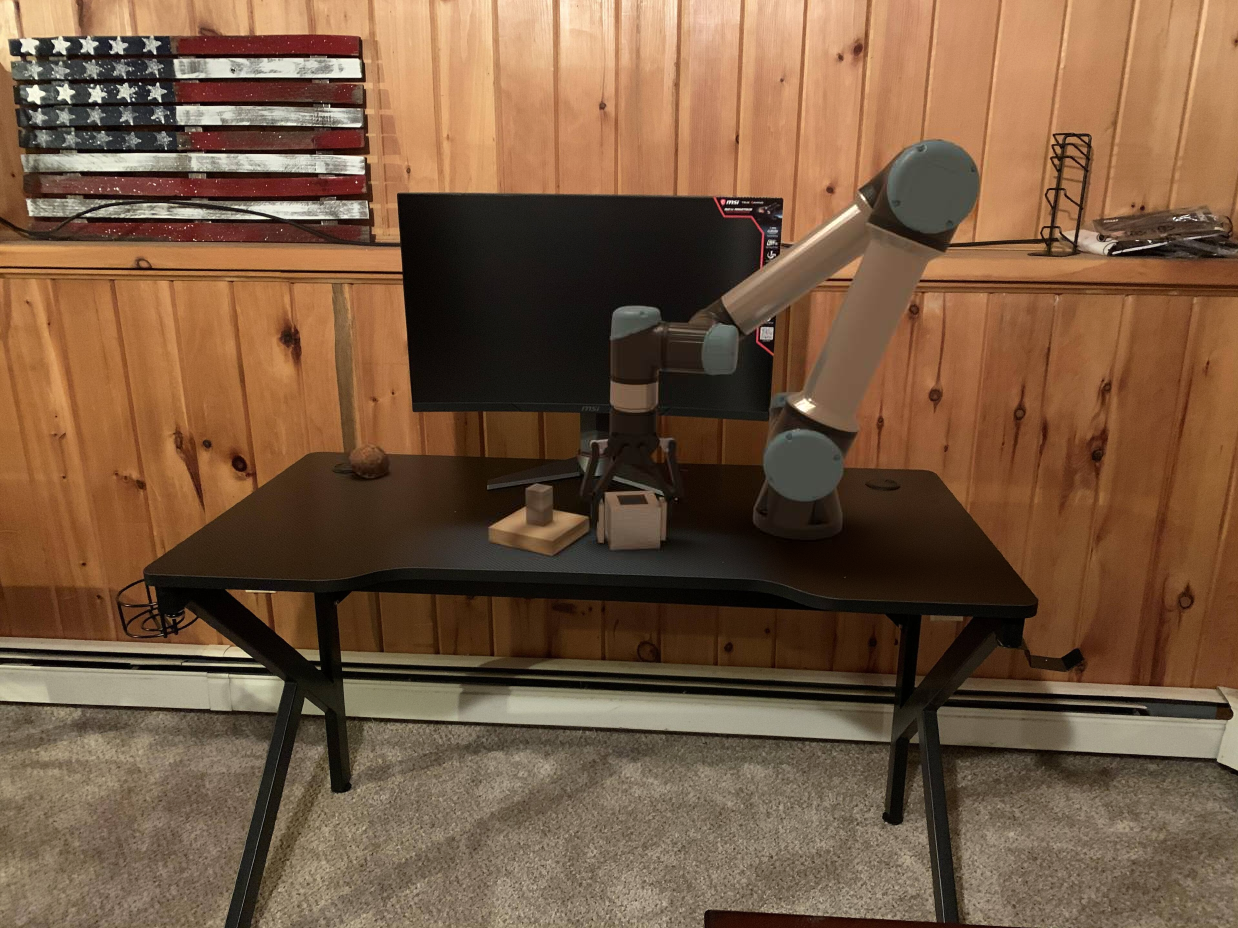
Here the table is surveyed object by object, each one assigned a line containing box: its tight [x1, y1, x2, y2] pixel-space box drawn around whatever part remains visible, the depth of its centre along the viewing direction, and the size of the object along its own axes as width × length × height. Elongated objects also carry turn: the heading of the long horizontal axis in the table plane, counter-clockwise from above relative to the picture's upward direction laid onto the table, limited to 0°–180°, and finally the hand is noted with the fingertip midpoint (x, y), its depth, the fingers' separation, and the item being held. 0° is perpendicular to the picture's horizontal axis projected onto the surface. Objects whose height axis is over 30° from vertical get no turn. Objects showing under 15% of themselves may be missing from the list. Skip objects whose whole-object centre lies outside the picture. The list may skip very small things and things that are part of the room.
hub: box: [604, 490, 661, 551], centre depth 151 cm, size 8×8×7 cm
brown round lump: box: [348, 443, 390, 479], centre depth 181 cm, size 8×8×6 cm
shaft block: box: [488, 483, 590, 557], centre depth 151 cm, size 12×12×8 cm
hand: (631, 538), depth 152 cm, fingers open, 9 cm apart
